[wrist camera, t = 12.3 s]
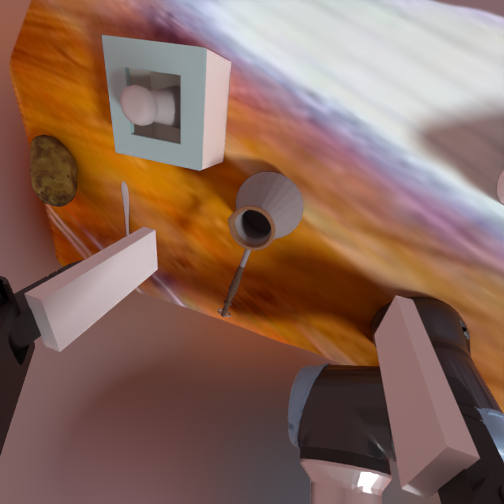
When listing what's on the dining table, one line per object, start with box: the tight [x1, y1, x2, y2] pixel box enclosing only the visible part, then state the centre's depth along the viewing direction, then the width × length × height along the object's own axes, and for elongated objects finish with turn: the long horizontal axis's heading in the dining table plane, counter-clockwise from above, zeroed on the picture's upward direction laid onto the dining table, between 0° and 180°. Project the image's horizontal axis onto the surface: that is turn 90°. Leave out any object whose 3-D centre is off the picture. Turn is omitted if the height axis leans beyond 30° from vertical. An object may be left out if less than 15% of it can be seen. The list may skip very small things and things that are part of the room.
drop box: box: [102, 35, 231, 171], centre depth 38 cm, size 14×14×9 cm
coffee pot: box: [218, 172, 303, 317], centre depth 41 cm, size 21×12×15 cm, turn 164°
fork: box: [121, 181, 129, 236], centre depth 56 cm, size 3×24×2 cm, turn 173°
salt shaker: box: [120, 85, 181, 129], centre depth 36 cm, size 6×6×13 cm
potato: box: [30, 135, 77, 207], centre depth 50 cm, size 8×13×8 cm, turn 173°
